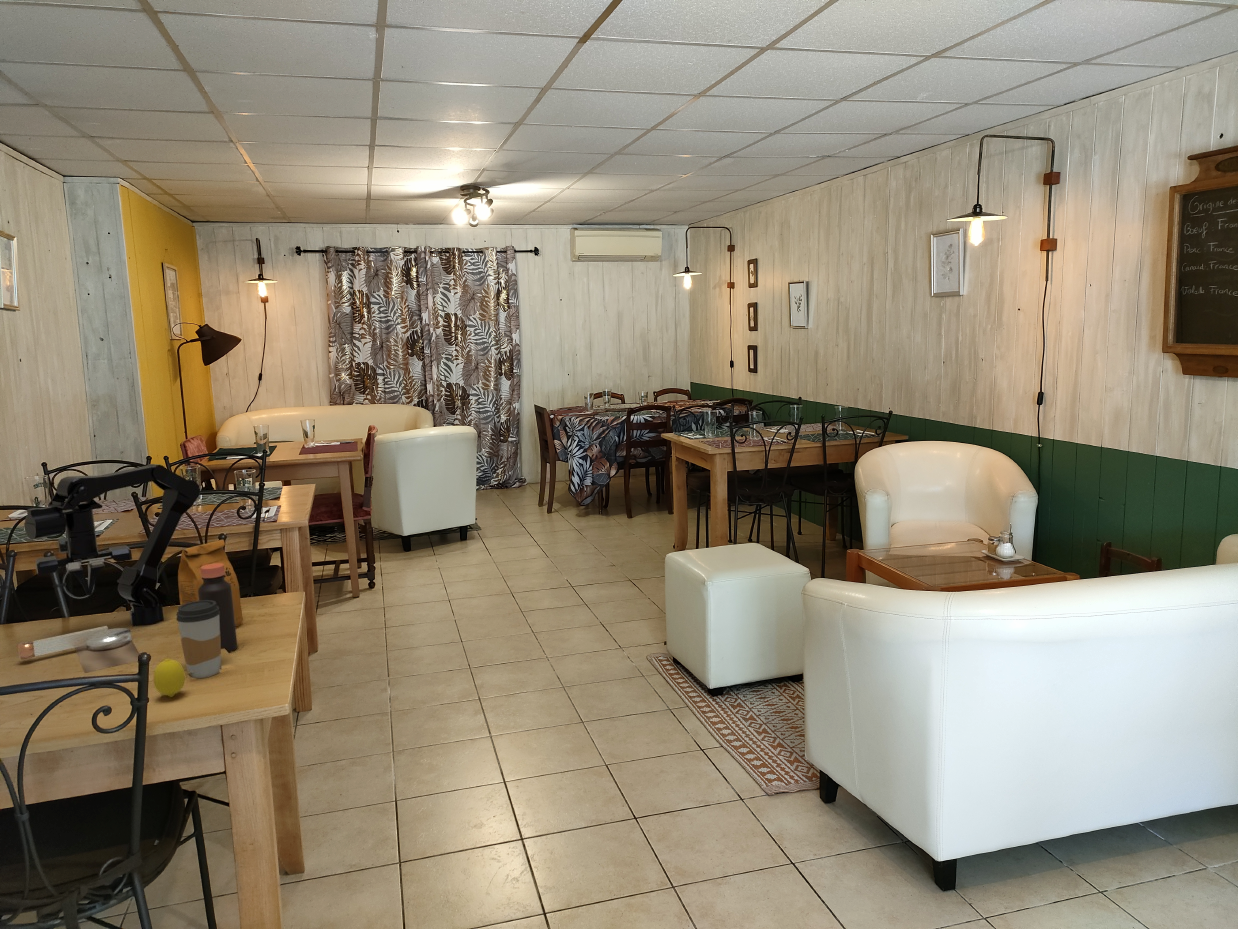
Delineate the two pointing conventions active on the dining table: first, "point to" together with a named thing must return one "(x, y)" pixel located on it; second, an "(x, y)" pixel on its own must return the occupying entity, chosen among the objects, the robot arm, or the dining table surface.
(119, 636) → the pizza cutter
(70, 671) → the dining table surface
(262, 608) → the dining table surface
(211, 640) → the coffee cup
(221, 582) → the bottle
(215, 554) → the coffee package
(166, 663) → the lemon
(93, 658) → the mounting board
